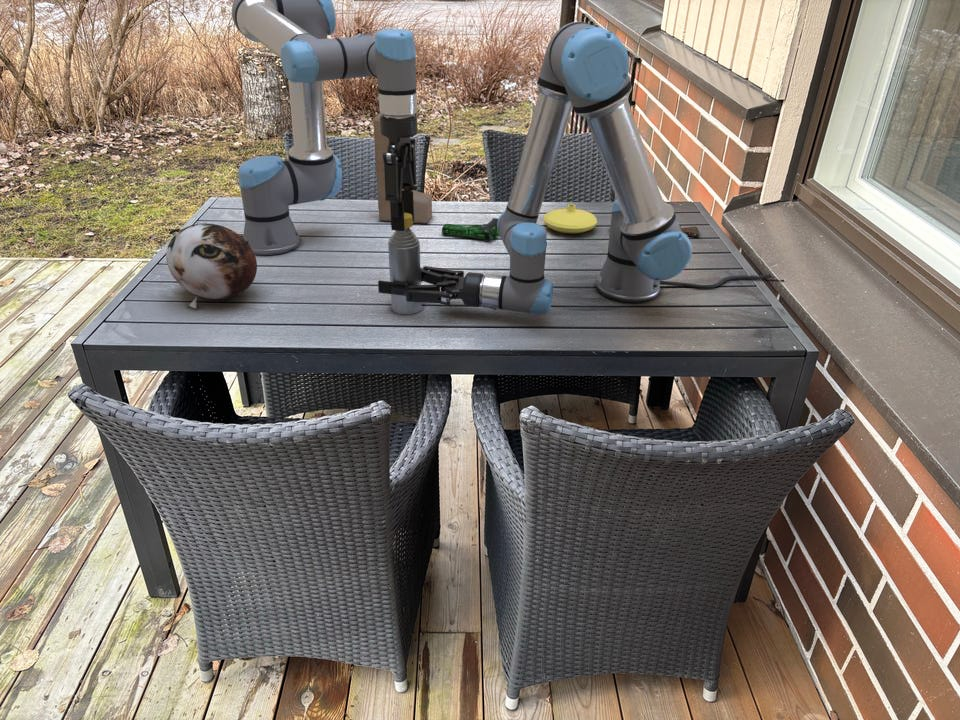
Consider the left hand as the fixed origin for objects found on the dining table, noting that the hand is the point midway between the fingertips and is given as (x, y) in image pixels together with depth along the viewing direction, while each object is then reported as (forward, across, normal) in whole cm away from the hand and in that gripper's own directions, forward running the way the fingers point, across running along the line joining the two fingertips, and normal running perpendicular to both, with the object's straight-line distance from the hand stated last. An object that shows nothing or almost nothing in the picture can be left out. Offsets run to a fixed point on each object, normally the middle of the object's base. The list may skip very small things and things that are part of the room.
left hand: (403, 224), depth 155 cm
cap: (-2, 0, 0) cm, 2 cm away
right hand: (+14, 0, -5) cm, 14 cm away
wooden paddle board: (+20, -65, +54) cm, 87 cm away
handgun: (+20, -52, +4) cm, 55 cm away
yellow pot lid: (+20, -62, +30) cm, 71 cm away
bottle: (+20, 0, 0) cm, 20 cm away
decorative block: (+20, -57, -20) cm, 63 cm away
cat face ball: (+20, +6, -45) cm, 49 cm away
